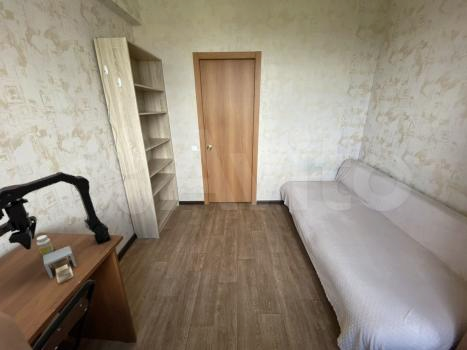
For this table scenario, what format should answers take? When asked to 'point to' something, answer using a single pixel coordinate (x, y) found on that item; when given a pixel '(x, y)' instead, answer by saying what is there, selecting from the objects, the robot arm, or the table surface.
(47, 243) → the supplement bottle
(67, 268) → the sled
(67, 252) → the tunnel
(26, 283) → the table surface
